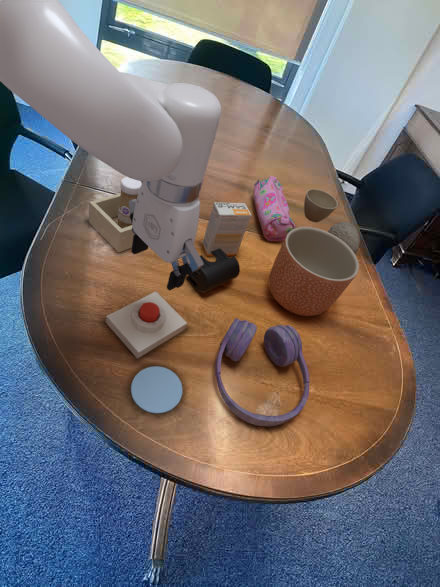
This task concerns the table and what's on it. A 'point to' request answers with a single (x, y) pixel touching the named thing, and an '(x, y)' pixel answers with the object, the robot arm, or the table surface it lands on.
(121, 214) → the sprinkles bottle
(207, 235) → the supplement box
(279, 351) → the headphones
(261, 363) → the table surface
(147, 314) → the release button
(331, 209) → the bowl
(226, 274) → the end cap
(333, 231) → the decorative stone
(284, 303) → the planter
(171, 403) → the coaster
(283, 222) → the pencil case
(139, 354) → the button block
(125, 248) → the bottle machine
